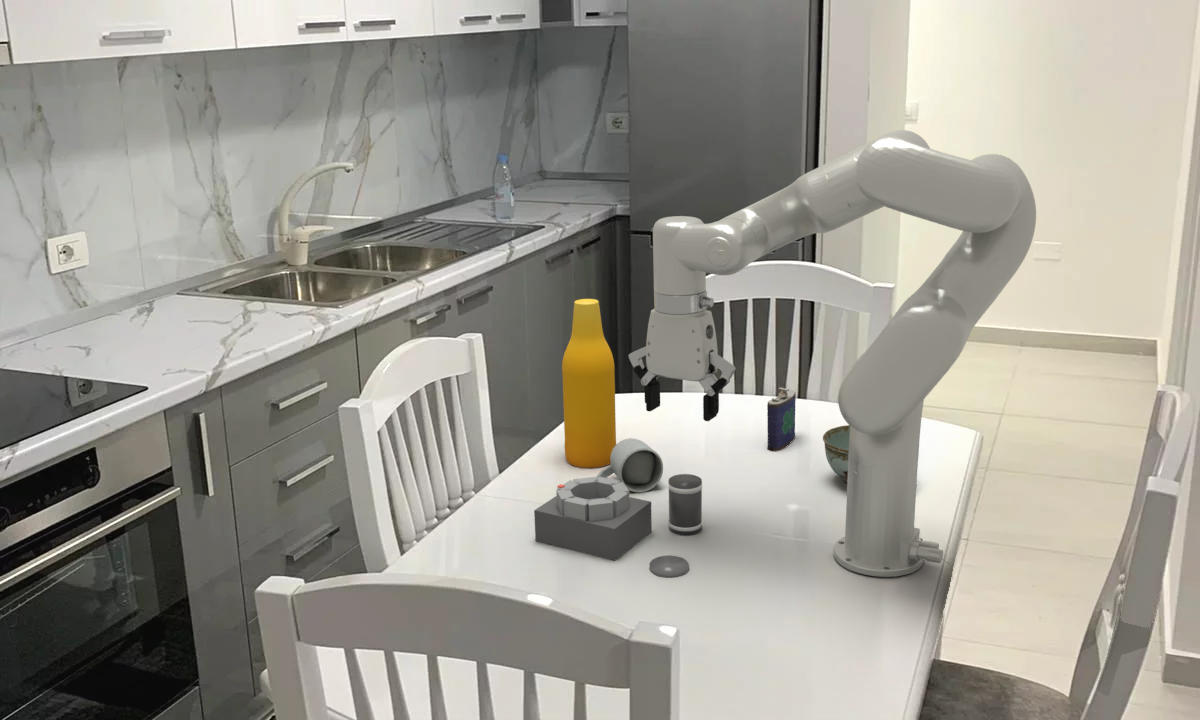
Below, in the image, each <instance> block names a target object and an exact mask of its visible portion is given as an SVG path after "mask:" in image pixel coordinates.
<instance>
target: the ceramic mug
mask: <svg viewBox="0 0 1200 720" xmlns="http://www.w3.org/2000/svg"><path fill="white" fill-rule="evenodd" d="M610 462H611V464H609V465H608V466H607V467H605V468H604V469H602V470H601V471H600V472H598V474H597V475H596V476H595V477H597V478H599V477H604V478H608V477H610V476H611V475H613V474H614V475H615V476H616V477H614V478H613V479H614V480H618V481H620V482H623V483H624V484H625V486H626V487H627V489H628V490H629V492H632V493H641V494H642V493H646V492H649V491H650V490H652V489H654V488H655V487H657V485H658V484H659V483H660V480H661V479H662V477H663V473H664V464H663V459H662V458H661V456H660V454H659V453H658V452H657V451H656V450H654V449H653V448H652V447H650V446H649V445H648V444H646V442H644V441H643V440H641V439H637V438H633V437H632V438H631V437H630V438H625V439H622V440H620V441H619V442H618V443H616V446H615V447H614V448H613V450H612V452H611V456H610Z"/></svg>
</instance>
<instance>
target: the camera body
mask: <svg viewBox="0 0 1200 720" xmlns="http://www.w3.org/2000/svg"><path fill="white" fill-rule="evenodd" d="M556 487H557V488H556V490H555V491H556V496H554V497H552V498H551V499H549V500H547V501H546V502H545V503H543V504H542V505H540V506H539V507H537V508H535V509H534V514H533V515H534V534H535V535H534V536H535V539H534V540H535V541H536V542H540V543H543V544H547V545H550V546H551V545H553V546H555V547H558V548H559V547H560V548H563V549H564V548H565V549H568V550H572V551H576V552H580V553H584V554H588V555H591V556H596V557H599V558H603V557H604V558H603V559H609V560H613V561H617V560H619V558H621V557H622V556H623V555H624V554H626V553H627V552H628V551H630V550H631V548H634V547H635V546H636V545H637V544H638V543H640V542H641V541H642V540H643V539H644V538H646V537H647V536H648V535H650V534H651V533H652V530H653V525H652V520H653V519H652V500H651V501H650V500H645V499H640V498H636V497H632V496H630V490H628V489H627V487H626V486H625V484H624V483H623V482H620V481H618V480H614V478H608V477H607V478H604V477H599V478H597V477H596V476H591V477H589V476H588V477H581V478H573V480H568V481H566V482H565V483H563V484H561V483H559V484H558V485H557V486H556Z"/></svg>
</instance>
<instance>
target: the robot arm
mask: <svg viewBox="0 0 1200 720" xmlns="http://www.w3.org/2000/svg"><path fill="white" fill-rule="evenodd" d="M882 208H887V209H891V210H893V211H897V212H900V213H902V214H905V215H908V216H912V217H915V218H918V219H922V220H926V221H928V222H932V223H936V224H938V225H941V226H945V227H948V228H951V229H955V230H959V231H962V232H961V234H960V235H959V236H958V238H957V240H956V241H955V242H954V244H953V245H952V246H951V247H950V249H949V250H948V251H947V252H946V254H945V255H944V257H943V258H942V260H941V261H940V263H939V264H938V265H937V266H936V267H935V268H934V270H933V271H932V272H931V273H930V275H929V276H928V278H926V280H924V282H923V283H922V284H921V285H920V286H919V287H918V288H917V290H916V291H915V292H913V293H912V294H911V295H910V296H908V298H907V299H906V300H905V301H904V302H903V303H902V304H901V306H900V307H899V308H898V309H897V311H896V312H895V314H894V315H893V316H892V318H891V319H890V320H889V322H887V323H886V325H885V326H884V327H883V329H882V330H881V332H880V333H879V334H878V335H877V337H876V338H875V339H874V340H873V342H872V343H871V344H870V345H869V347H868V348H867V349H866V351H864V352H863V354H861V355H860V357H858V359H857V360H856V361H855V362H854V363H853V365H852V367H851V368H850V370H849V372H848V373H847V374H846V375H845V376H844V378H843V379H842V382H841V383H840V386H839V389H838V396H837V401H838V407H839V412H840V414H841V416H842V418H843V420H844V421H845V422H846V424H847V425H850V436H849V454H848V479H847V485H846V506H845V510H846V512H845V533H844V536H843V537H841V538H840V539H838V540H837V541H836V542H835V543H834V545H833V557H834V560H835V561H836V562H837V563H838V564H839V565H840V566H842V567H844V568H845V569H847V570H849V571H851V572H855V573H857V574H861V575H865V576H872V577H878V578H879V577H880V578H893V577H901V576H907V575H909V574H912V573H914V572H916V571H917V570H920V568H921V567H922V566H923V564H924V560H925V561H927V562H931V563H935V564H939V565H940V564H941V563H942V561H943V558H944V551H943V549H940V548H939V547H940V544H939V542H934V541H927V540H923V538H921V537H920V536H921V535H920V533H921V528H918V527H915V516H916V515H915V514H916V499H917V483H918V482H917V481H918V465H919V454H920V452H919V450H920V441H921V440H920V438H921V437H920V436H921V428H922V427H921V425H922V424H921V423H922V417H923V416H922V414H923V408H924V403H925V402H924V401H925V399H926V397H928V396H929V394H930V393H931V392H932V390H933V389H934V388H935V387H936V386H937V384H939V382H940V381H941V380H942V379H943V377H944V376H945V375H946V374H947V373H948V372H949V371H950V369H951V368H952V367H953V365H954V364H955V362H956V361H957V359H958V358H959V357H960V355H961V353H962V352H963V350H964V348H965V346H966V344H967V341H968V340H969V337H970V336H971V333H972V331H973V329H974V327H975V326H976V324H978V322H979V320H980V319H981V318H982V317H983V316H984V314H985V313H986V311H987V310H989V308H990V307H991V306H992V304H993V303H995V300H996V299H997V298H998V297H999V295H1000V294H1001V293H1002V292H1003V290H1004V289H1005V288H1006V286H1007V285H1008V284H1009V282H1010V281H1011V279H1012V278H1013V277H1014V276H1015V274H1016V272H1018V270H1019V269H1020V267H1021V265H1022V264H1023V262H1024V261H1025V259H1026V256H1027V255H1028V252H1029V250H1030V248H1031V245H1032V243H1033V240H1034V235H1035V230H1036V225H1037V223H1036V222H1037V206H1036V199H1035V196H1034V192H1033V189H1032V186H1031V184H1030V182H1029V180H1028V177H1027V176H1026V174H1025V172H1024V171H1023V170H1022V168H1021V166H1019V165H1018V163H1016V162H1015V161H1013V159H1011V158H1009V157H1007V156H1004V155H1002V154H995V153H989V154H983V155H982V154H981V155H979V156H976V157H975V158H972V159H968V158H963V157H960V156H956V155H953V154H950V153H949V154H948V153H945V152H942V151H939V150H935V149H932V148H930V146H929V144H928V142H927V141H926V140H925V139H924V138H923V137H922V136H920V134H918V133H915V132H914V131H911V130H905V129H904V130H903V129H900V130H899V129H898V130H894V131H890V132H887V133H884V134H883V135H881V136H879V137H877V138H874V139H873V140H871V141H869V142H867V143H865V144H863V145H860V146H859V147H857V148H854V149H853V150H851V151H849V152H846V153H845V154H842V155H841V156H839V157H837V158H835V159H833V160H831V161H829V162H827V163H824V164H822V165H820V166H819V167H816V168H814V169H812V170H810V171H809V172H808V171H807V172H806V173H804V174H803V175H801V176H799V177H798V178H797V179H796V180H795V181H793V182H792V183H790V184H789V185H788V186H786V187H784V188H782V189H780V190H778V191H776V192H773V194H769V196H767V197H764V198H762V199H760V200H758V201H756V202H754V203H752V204H750V205H748V206H746V207H744V208H741V209H740V210H738V211H735V212H733V213H732V214H729V215H727V216H725V217H723V218H721V219H720V220H718V221H717V220H716V221H714V222H711V223H704V222H703V220H701V219H700V218H698V217H695V216H686V215H679V216H678V215H677V216H676V215H674V216H666V217H662V218H659V219H657V221H655V223H654V225H653V229H652V248H653V249H652V251H653V252H652V255H653V297H654V298H653V301H654V302H653V303H654V307H653V309H651V310H650V314H649V319H648V324H647V332H646V341H645V342H646V346H644V347H641V348H639V349H637V350H634V351H633V352H630V353H629V354H628V359H629V361H630V363H631V365H632V367H633V372H634V374H635V375H636V376H637V377H638V378H639V379H640V383H641V386H643V387H644V403H645V409H646V411H647V412H652V411H654V410H656V409H657V408H659V407H660V406H661V383H660V380H657V379H658V378H659V377H662V378H669V379H675V380H682V381H687V382H688V381H689V382H698V383H699V384H700V386H701V388H702V389H703V390H704V391H705V393H706V394H704V395H703V398H702V402H703V403H702V410H703V412H702V413H703V415H702V416H703V417H702V419H703V420H704V422H710V421H711V420H713V419H714V418H716V417H717V416H718V413H719V410H720V392H721V391H722V390H723V389H724V388H725V387H726V386H728V384H729V383H730V381H731V379H732V377H733V375H734V373H735V372H736V367H735V365H733V364H732V363H731V362H729V361H728V360H726V359H725V358H723V357H722V356H721V355H719V354H718V351H719V350H718V342H717V332H716V328H715V327H716V326H715V322H714V318H713V314H712V311H711V310H707V309H708V308H712V307H713V306H714V303H715V299H714V298H713V297H709V296H708V291H707V280H706V279H707V278H706V277H707V274H710V275H711V274H712V275H716V276H730V275H734V274H736V273H739V272H741V271H742V270H743V269H744V268H746V267H747V266H748V265H750V264H752V263H753V262H755V261H756V260H758V259H760V258H762V257H763V256H766V255H768V254H770V253H772V252H774V251H775V250H776V251H777V250H778V249H780V248H782V247H784V246H786V245H788V244H792V243H793V242H796V241H797V240H800V239H802V238H806V237H807V236H809V235H810V236H811V235H815V234H826V233H828V232H829V233H830V232H832V231H834V230H837V229H839V228H841V227H843V226H845V225H847V224H849V223H852V222H854V221H856V220H858V219H860V218H863V217H864V216H866V215H869V214H871V213H874V212H875V211H877V210H880V209H882ZM643 357H645V363H646V364H645V363H643V362H644V361H643ZM718 369H719V370H720V372H721V375H720V376H719V378H717V376H716V375H715V374H717V372H718Z"/></svg>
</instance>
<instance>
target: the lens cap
mask: <svg viewBox="0 0 1200 720" xmlns="http://www.w3.org/2000/svg"><path fill="white" fill-rule="evenodd" d="M689 566H690V565H689V562H688V560H686V559H685V558H683V557H681V556H678V555H677V556H676V555H662V556H661V555H660V556H657V557H654V559H651V561H650V562H649V572H650V573H651V574H653V575H655V576H657V577H660V578H668V579H669V578H670V579H671V578H673V579H674V578H678V577H682V576H684V575H686V574H688V572H689V571H690V567H689Z"/></svg>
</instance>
